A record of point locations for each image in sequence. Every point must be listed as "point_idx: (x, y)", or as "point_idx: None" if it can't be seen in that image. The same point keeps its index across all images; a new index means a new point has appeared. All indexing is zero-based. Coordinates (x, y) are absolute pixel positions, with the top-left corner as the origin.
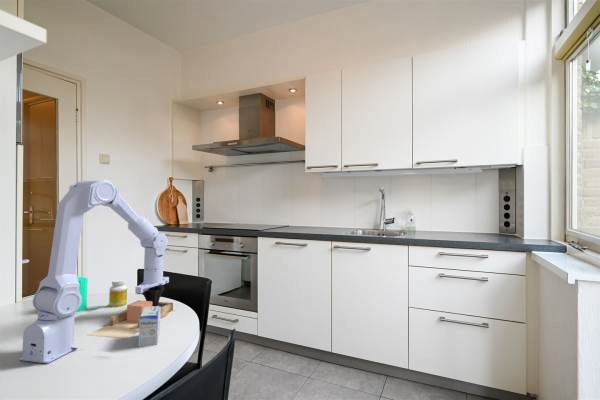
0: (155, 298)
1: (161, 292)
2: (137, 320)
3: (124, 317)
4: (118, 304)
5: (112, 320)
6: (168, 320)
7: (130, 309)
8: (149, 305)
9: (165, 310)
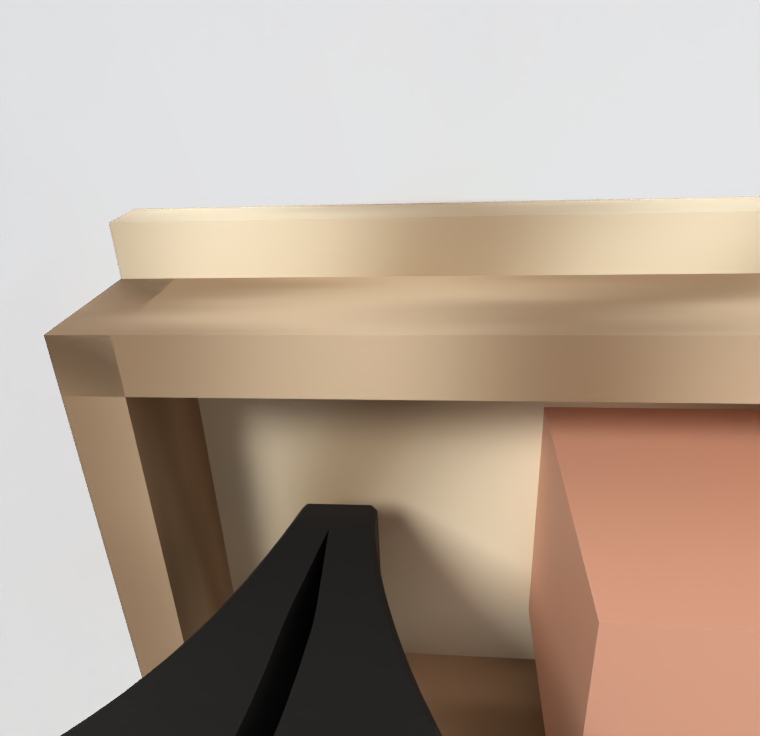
0: (384, 668)
1: (127, 734)
2: None
3: None
4: None
5: None
6: (469, 120)
7: None
8: (706, 575)
9: (349, 304)
